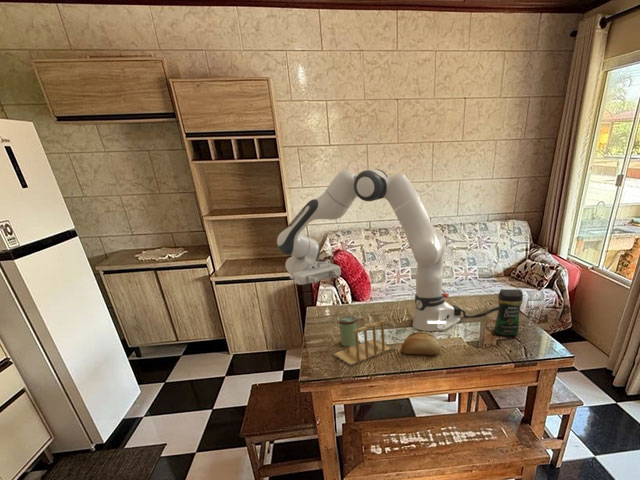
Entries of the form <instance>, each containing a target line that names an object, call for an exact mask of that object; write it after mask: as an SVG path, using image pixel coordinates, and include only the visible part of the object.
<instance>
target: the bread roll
mask: <svg viewBox="0 0 640 480" xmlns="http://www.w3.org/2000/svg"><path fill="white" fill-rule="evenodd" d="M400 348H401V349H400V350H401V352H402V353H403V354H406V355H423V356H436V355H438V354H440V352H441V349H442V347H441V344H440V342H439V340H438V338H437V337H436V336H435V335H434V334H432V333H430V332H428V331H416V332H412V333H411V334H409V335H408V336H407V337H406V338H405V339H404V341H403V342H402V344H401V347H400Z"/></svg>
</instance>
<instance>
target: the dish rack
mask: <svg viewBox="0 0 640 480" xmlns="http://www.w3.org/2000/svg"><path fill="white" fill-rule="evenodd" d="M385 324H386V320H384V319H382V320H379V321H376V322H374V323H371V324H367V325H365V326H361V327H359V328H357V329H356V330H353V333H355V339H356V345H354V346H347V347H346V349H342V350H340V351H337V352H334V353H333V355H334V356H335V357H337V358H339V359H340V360H342V361H343V362H345V363H347V364H349V365H353V364H356V363H358V362H361V361H363V360H365V359H368V358H371V357H374V356H375V355H378V354H381V353H383V352H385V351H388V350H391V349H392V347H391V346H389V345H387V344H386V343H385V327H384V325H385ZM378 326H380V332H381V333H380V334H381V335H380V337H381V342H380V341H378V340H377V335H376V334H377V333H376V332H377V331H376V327H378ZM370 329H372V339H371V340H368V330H370ZM361 332H363V339H364V342H362V343H360V342H359V333H361Z"/></svg>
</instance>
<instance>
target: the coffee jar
mask: <svg viewBox="0 0 640 480" xmlns="http://www.w3.org/2000/svg"><path fill="white" fill-rule="evenodd" d="M523 293H524V292H523V291H522V289H504V288H502V289H500V290H499V294H498V297H497V302H498V307H499V309H497V310H498V311H497V316H496V320H495V324H494V332H495V334H497V335H498V336H507V337H508V336H517V335H518V334H519V331H520V329H519V328H520V311H521V306H522V304H523V302H524V294H523Z"/></svg>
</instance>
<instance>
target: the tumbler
mask: <svg viewBox="0 0 640 480" xmlns="http://www.w3.org/2000/svg"><path fill="white" fill-rule="evenodd" d="M338 323H339V333H340V343H341V345H342V346H344V347H353V346H356V339H355V333H353V330H356V329H358V325H357V317H356V316H352V315H345V316H341V317H339V318H338Z"/></svg>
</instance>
